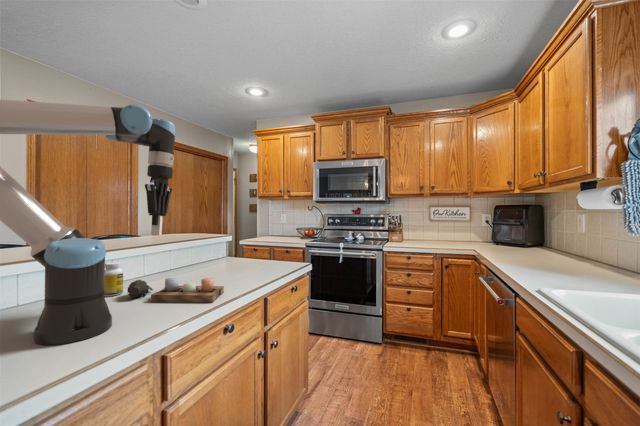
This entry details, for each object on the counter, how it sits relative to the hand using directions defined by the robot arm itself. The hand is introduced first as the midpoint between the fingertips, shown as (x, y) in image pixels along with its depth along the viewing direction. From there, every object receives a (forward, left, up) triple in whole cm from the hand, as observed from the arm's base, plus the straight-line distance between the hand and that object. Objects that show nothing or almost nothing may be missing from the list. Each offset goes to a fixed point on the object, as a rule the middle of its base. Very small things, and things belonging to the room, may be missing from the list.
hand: (156, 234), depth 96 cm
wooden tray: (+6, -9, -23) cm, 25 cm away
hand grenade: (+8, +10, -23) cm, 26 cm away
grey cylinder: (+6, -2, -21) cm, 22 cm away
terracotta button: (+6, -15, -21) cm, 26 cm away
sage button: (+6, -9, -23) cm, 25 cm away
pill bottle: (+8, +20, -23) cm, 32 cm away
